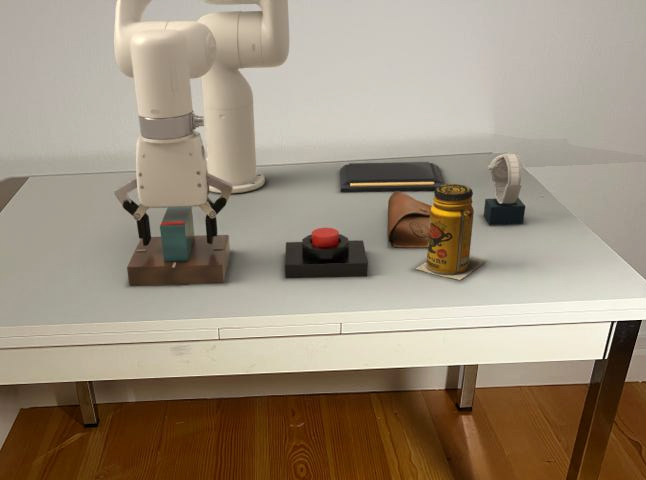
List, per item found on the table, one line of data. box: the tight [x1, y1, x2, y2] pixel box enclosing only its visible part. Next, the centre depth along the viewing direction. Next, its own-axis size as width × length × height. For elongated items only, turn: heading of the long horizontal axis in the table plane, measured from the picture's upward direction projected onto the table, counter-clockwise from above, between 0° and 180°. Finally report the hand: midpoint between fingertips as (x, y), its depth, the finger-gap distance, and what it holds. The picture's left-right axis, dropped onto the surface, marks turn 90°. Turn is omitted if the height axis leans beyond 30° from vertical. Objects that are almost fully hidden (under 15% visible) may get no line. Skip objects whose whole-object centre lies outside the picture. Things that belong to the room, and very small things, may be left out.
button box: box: [284, 233, 369, 279], centre depth 114 cm, size 12×9×4 cm
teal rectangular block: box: [159, 207, 196, 262], centre depth 113 cm, size 9×4×6 cm, turn 178°
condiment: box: [414, 183, 487, 281], centre depth 109 cm, size 7×8×12 cm
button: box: [311, 227, 340, 247], centre depth 112 cm, size 4×4×2 cm
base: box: [126, 234, 231, 287], centre depth 115 cm, size 14×13×3 cm
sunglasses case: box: [387, 191, 433, 249], centre depth 126 cm, size 18×7×7 cm
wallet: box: [339, 161, 445, 193], centre depth 149 cm, size 20×2×15 cm
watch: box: [483, 153, 526, 226], centre depth 125 cm, size 6×8×11 cm
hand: (179, 241), depth 114 cm, fingers open, 9 cm apart
